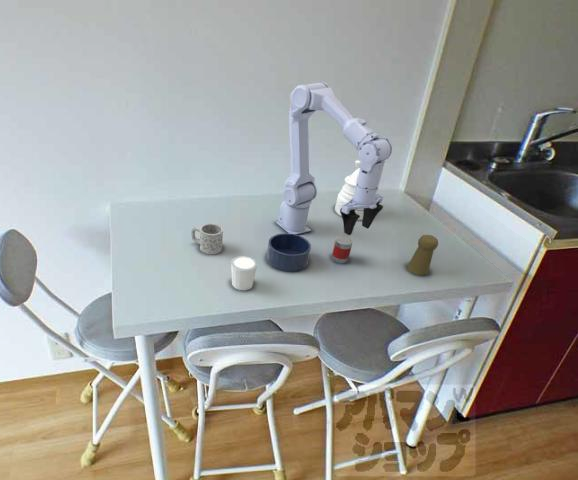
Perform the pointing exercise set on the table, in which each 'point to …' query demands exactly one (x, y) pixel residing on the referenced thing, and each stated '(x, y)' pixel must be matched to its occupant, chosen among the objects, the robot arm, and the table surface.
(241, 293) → the table surface
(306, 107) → the robot arm
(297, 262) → the dark blue round bowl
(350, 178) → the honey pot
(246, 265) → the white tapered cylinder
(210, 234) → the mug
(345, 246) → the can
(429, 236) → the cork
